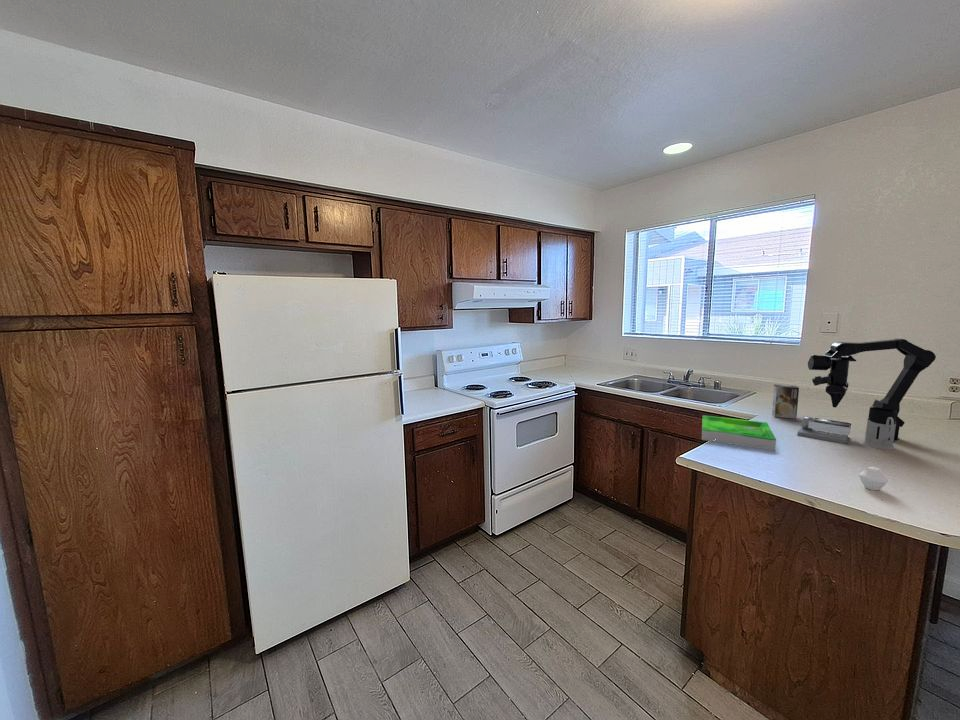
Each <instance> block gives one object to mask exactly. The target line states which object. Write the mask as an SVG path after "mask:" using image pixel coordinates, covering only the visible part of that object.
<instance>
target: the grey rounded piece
mask: <svg viewBox="0 0 960 720" xmlns="http://www.w3.org/2000/svg"><path fill="white" fill-rule="evenodd" d="M896 415H897V411H896V410H892V409H888V408H880V407H871V406H869V411H868V418H867V421H866V428H865V437H864V440H863V441H862V444H863V445H864V446H866V447H870V448H876V449H880V450H887V449H889V450H894V449H895V447H894V441H895V440H894V434H895V427H896Z"/></svg>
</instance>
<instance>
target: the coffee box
mask: <svg viewBox="0 0 960 720" xmlns="http://www.w3.org/2000/svg"><path fill="white" fill-rule="evenodd" d="M799 393H800V387H799V386H797V385H790V384H773V395H772V397H773V398H772V408H771V409H772V411H771V414H772V416H773V417H775V418H785V419H786V418H787V419H797V416H798V406H799Z"/></svg>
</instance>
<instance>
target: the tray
mask: <svg viewBox="0 0 960 720" xmlns="http://www.w3.org/2000/svg"><path fill="white" fill-rule="evenodd" d="M701 421H702V422H701V440H702V441H707V442H714V441H713V440H715V439H716V440H715V443H722V444H723V443H724V444H728V443H731V445H735V444H738V445H737V446H742V445H744V447H749V446H750V448H758V449H763V448H764V450H770V449H771V451H776V443H777V438H776V437H775V435H774V433H773V431H772V429H771V427H770V425H769V423H768V422H766V421H765V422H764V421H757V420H749V419H740V418H732V417H724V416H723V417H721V416H715V415H714V416H713V415H705V414H703V415H702V420H701Z"/></svg>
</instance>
